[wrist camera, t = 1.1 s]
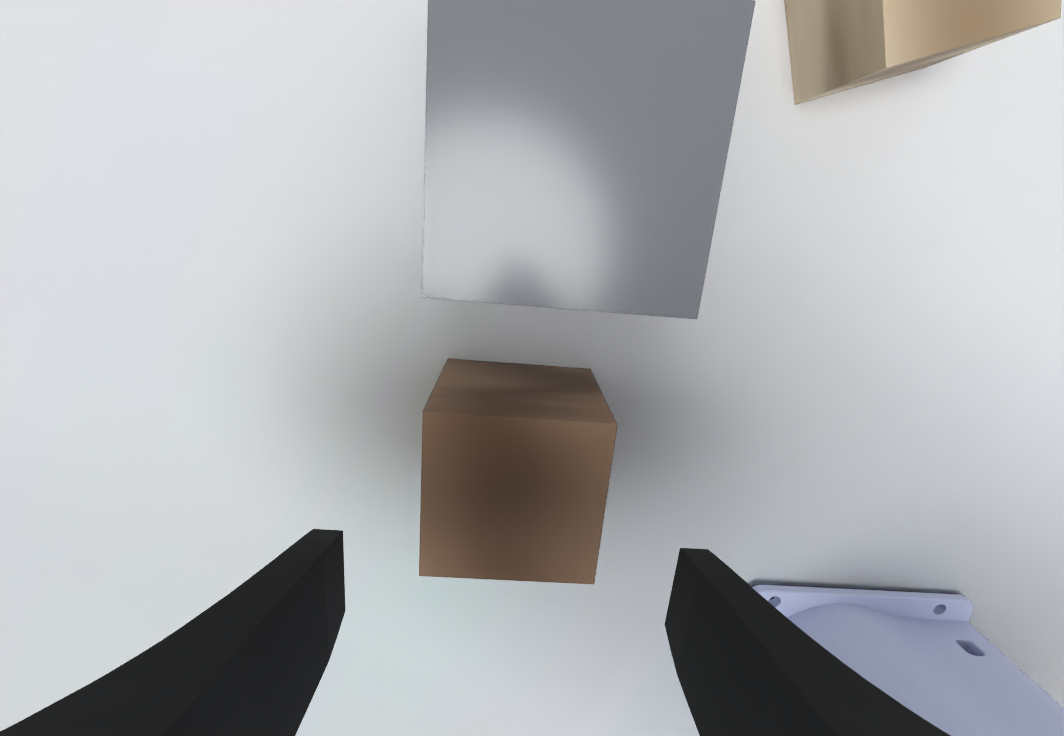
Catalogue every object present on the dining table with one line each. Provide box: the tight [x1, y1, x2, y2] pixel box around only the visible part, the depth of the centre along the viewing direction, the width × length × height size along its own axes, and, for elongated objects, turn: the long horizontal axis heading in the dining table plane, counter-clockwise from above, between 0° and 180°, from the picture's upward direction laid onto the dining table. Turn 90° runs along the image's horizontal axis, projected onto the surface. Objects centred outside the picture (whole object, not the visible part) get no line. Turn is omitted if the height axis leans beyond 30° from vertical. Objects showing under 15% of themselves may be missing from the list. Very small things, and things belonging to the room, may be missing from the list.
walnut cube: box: [419, 359, 617, 584], centre depth 16 cm, size 5×5×5 cm
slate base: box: [422, 0, 755, 319], centre depth 14 cm, size 8×8×2 cm
